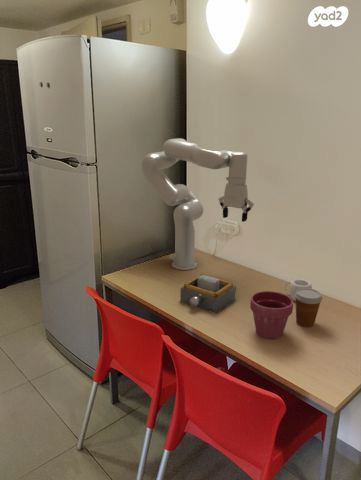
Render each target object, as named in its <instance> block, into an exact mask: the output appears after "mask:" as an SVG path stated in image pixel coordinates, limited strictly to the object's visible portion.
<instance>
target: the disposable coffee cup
mask: <svg viewBox="0 0 361 480" xmlns="http://www.w3.org/2000/svg"><path fill="white" fill-rule="evenodd" d="M295 298H296V301H295V321H296V324H297V325H298V326H300V327H303V328H312V327H314V325H315V323H316V318H317V317H318V316H317V315H318V312H319V308H320V305H321V302H322V301H323V297H322V293H321V292H320V291H319V290H317V289H313V288H312V289H310V288H301V289H298V290H297V291H296V293H295Z"/></svg>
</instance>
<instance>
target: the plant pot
mask: <svg viewBox="0 0 361 480" xmlns="http://www.w3.org/2000/svg"><path fill="white" fill-rule="evenodd" d="M249 305H250V310H251V311H252V314H253V315H252V316H253V321H254V327H255V332H256V334H257V335H258V336H259V337H262V338H263V339H268V340H276V339H280V338H281V337H283V334H284V330H285V328H286V325H287V323H288V320H289V316H291V315H292V313H293V308H294V300H293V299H292V298H291V296H289V295H288V294H285V293H282V292H278V291H273V290H262V291H258V292H255V293H253V294H252V295H251V297H250V304H249Z"/></svg>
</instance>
